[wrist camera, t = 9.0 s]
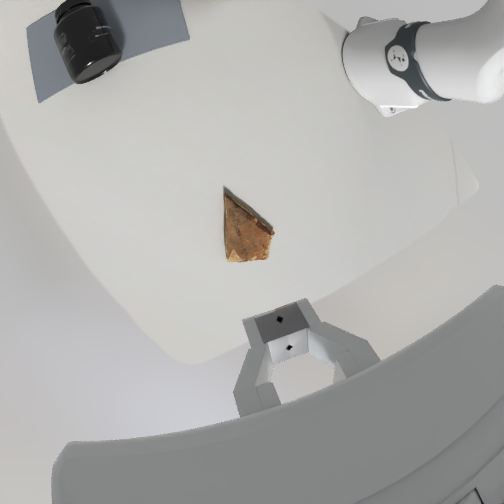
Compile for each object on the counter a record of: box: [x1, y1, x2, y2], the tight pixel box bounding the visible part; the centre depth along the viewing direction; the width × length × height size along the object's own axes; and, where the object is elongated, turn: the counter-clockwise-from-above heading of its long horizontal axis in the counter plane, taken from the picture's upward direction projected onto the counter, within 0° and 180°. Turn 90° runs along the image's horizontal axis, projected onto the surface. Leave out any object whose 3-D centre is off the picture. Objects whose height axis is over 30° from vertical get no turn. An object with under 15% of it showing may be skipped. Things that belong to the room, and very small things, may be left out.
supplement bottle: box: [54, 0, 123, 84], centre depth 20 cm, size 7×7×12 cm
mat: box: [27, 0, 190, 103], centre depth 22 cm, size 22×14×1 cm, turn 105°
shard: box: [224, 193, 275, 262], centre depth 41 cm, size 11×8×2 cm
